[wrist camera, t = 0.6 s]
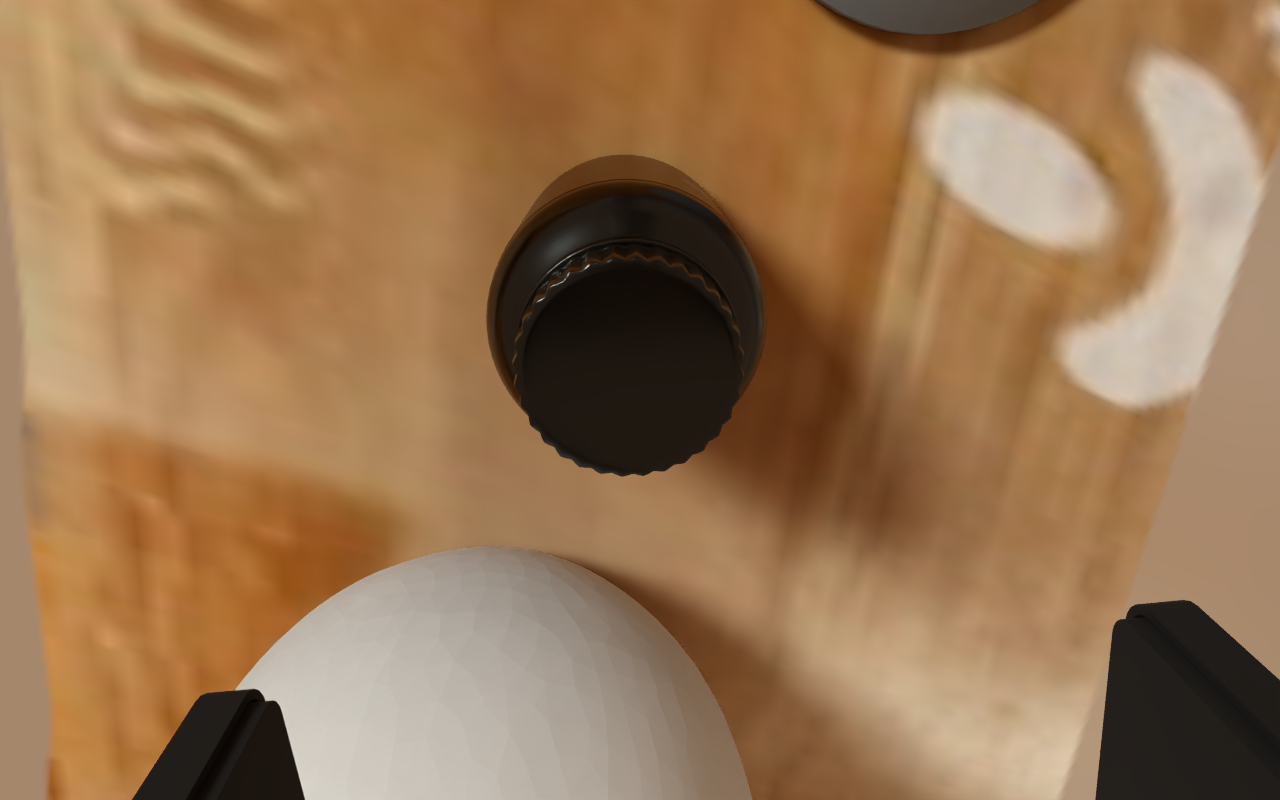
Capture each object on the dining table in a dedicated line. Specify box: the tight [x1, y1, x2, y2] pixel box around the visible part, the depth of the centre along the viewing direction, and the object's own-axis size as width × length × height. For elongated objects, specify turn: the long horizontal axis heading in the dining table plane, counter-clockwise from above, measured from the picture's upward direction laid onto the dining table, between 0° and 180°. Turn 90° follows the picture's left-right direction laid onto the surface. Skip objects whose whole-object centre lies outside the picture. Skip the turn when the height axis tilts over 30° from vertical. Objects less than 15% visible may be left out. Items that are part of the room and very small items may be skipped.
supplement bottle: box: [486, 155, 767, 476], centre depth 24 cm, size 7×7×12 cm
